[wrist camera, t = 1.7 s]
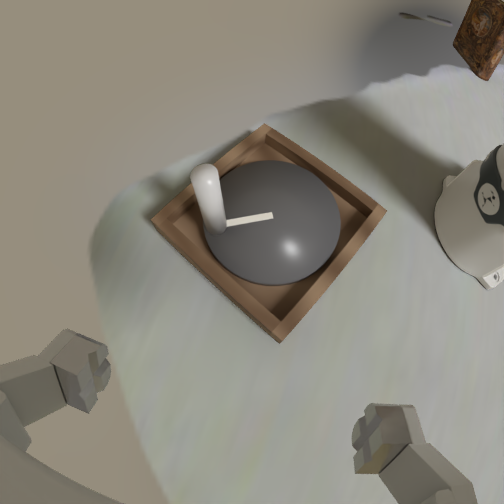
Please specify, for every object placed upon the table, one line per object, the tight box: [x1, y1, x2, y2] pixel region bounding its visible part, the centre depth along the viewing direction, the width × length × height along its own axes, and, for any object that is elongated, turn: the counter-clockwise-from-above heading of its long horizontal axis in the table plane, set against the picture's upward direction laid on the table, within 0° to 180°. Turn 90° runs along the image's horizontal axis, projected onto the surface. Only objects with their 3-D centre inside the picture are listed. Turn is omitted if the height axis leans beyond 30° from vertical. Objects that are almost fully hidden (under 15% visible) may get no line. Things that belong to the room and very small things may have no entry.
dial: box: [190, 160, 341, 286], centre depth 31 cm, size 16×16×11 cm
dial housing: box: [151, 123, 387, 344], centre depth 36 cm, size 20×20×4 cm
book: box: [453, 0, 504, 81], centre depth 46 cm, size 16×6×25 cm, turn 2°
